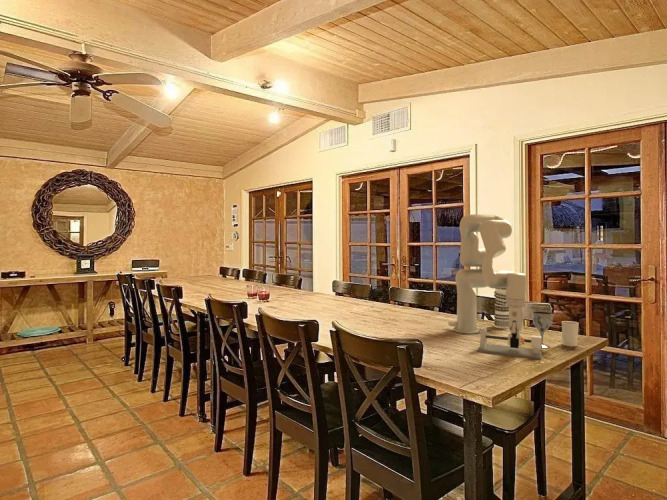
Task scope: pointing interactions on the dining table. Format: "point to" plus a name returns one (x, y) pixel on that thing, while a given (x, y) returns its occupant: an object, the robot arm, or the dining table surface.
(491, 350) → the board
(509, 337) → the sleeve
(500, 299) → the decorative candle
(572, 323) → the beige cup
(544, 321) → the wine glass
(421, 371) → the dining table surface
